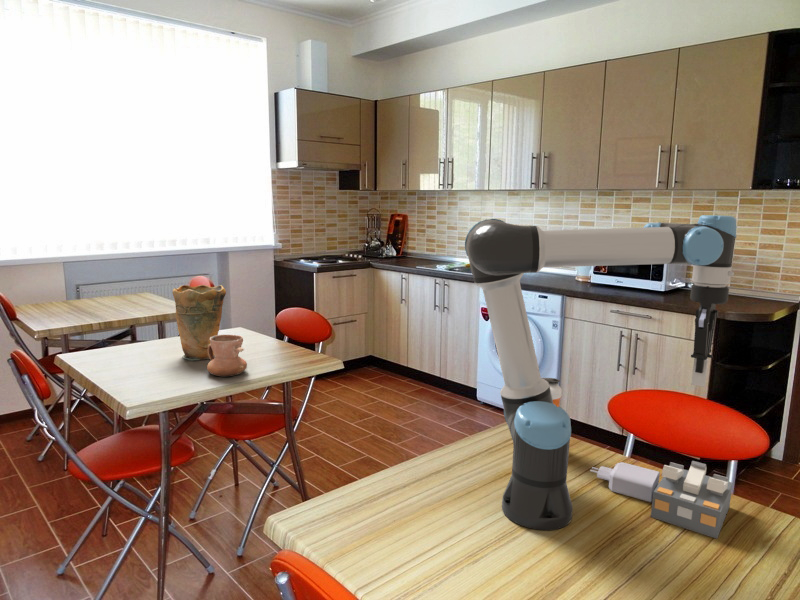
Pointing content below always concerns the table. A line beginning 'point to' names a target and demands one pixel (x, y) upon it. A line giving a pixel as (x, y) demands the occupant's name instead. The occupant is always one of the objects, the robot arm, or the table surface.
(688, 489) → the rocker
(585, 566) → the table surface
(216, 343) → the ceramic jug
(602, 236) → the robot arm
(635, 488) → the charger
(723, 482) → the rocker
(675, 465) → the rocker
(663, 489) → the switch unit
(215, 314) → the vase
